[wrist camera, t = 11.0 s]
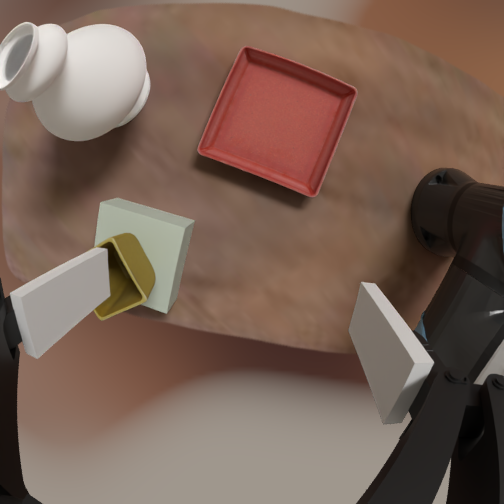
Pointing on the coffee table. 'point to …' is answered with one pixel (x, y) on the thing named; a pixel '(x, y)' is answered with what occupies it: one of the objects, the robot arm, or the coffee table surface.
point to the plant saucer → (278, 120)
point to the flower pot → (125, 275)
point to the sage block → (151, 243)
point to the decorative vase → (76, 77)
